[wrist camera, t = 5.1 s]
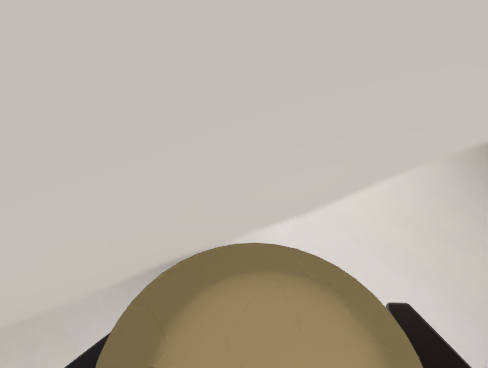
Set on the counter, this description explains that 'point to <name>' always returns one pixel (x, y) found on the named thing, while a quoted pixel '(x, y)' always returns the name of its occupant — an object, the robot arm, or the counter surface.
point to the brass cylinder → (256, 316)
